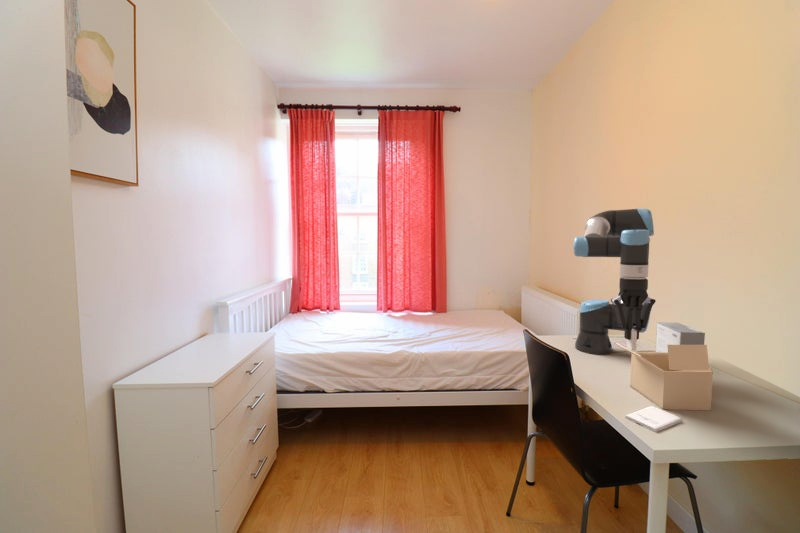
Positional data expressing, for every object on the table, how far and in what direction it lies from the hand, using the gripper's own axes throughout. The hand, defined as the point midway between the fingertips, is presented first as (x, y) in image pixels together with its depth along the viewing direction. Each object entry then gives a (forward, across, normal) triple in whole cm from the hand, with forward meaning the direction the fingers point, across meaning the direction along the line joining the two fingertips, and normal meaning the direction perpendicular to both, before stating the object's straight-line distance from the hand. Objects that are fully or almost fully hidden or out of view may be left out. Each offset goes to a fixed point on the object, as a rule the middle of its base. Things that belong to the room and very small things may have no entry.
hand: (631, 348), depth 110 cm
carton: (+17, +12, 0) cm, 20 cm away
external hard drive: (+17, -2, -14) cm, 22 cm away
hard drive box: (+17, +25, +14) cm, 33 cm away
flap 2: (0, +12, -7) cm, 14 cm away
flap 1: (+2, +2, 0) cm, 3 cm away
